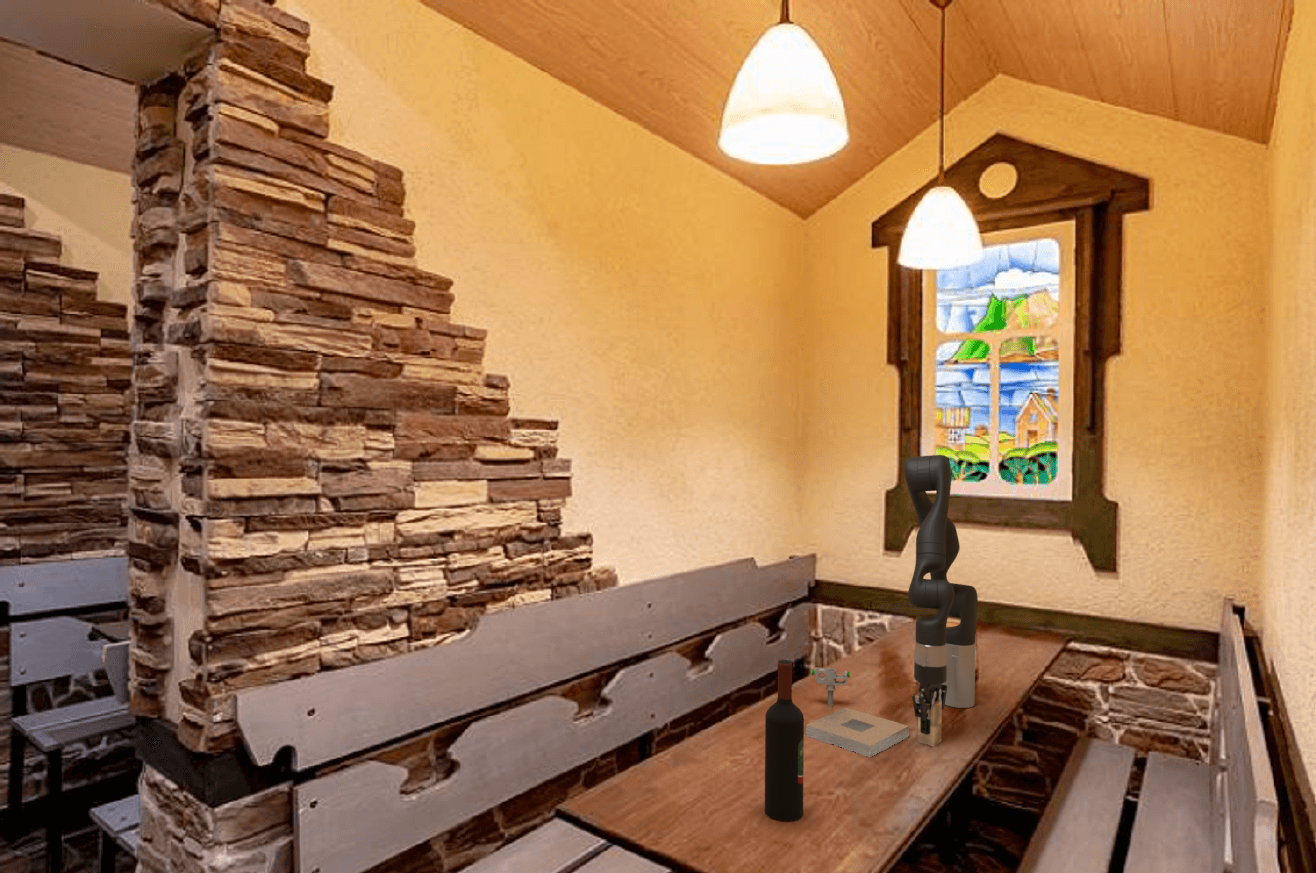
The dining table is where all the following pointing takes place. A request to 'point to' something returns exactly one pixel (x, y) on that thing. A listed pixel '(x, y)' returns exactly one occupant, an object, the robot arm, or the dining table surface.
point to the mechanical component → (830, 680)
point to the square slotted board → (857, 731)
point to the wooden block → (932, 726)
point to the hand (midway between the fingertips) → (929, 730)
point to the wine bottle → (784, 752)
